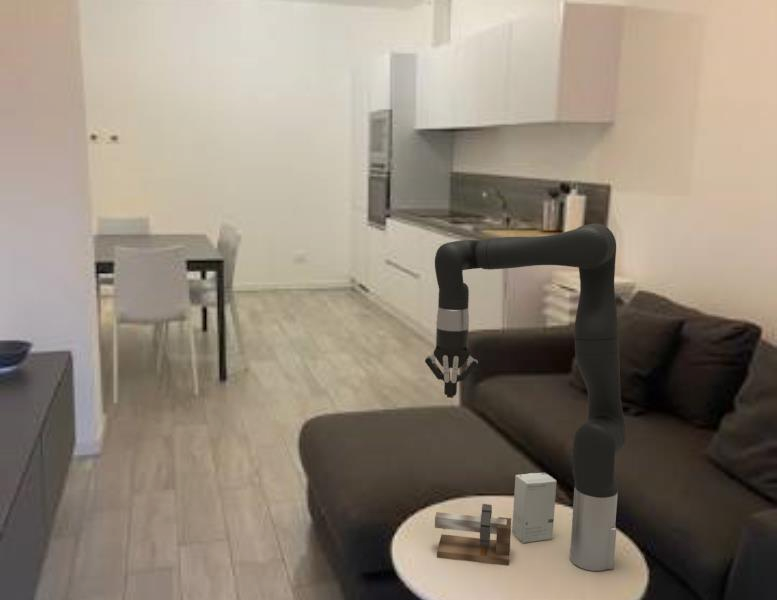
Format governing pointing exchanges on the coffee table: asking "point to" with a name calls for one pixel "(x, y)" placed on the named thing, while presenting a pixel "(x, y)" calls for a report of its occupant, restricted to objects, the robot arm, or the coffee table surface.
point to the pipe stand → (473, 539)
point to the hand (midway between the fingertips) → (450, 396)
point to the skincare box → (533, 507)
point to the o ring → (485, 525)
